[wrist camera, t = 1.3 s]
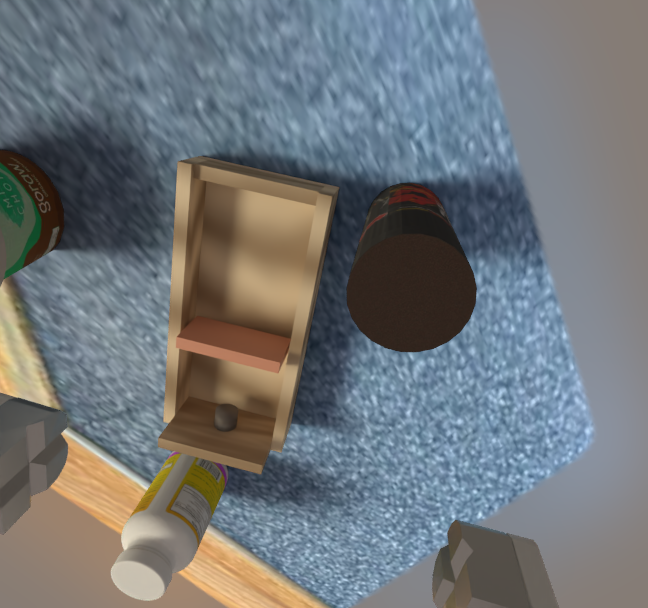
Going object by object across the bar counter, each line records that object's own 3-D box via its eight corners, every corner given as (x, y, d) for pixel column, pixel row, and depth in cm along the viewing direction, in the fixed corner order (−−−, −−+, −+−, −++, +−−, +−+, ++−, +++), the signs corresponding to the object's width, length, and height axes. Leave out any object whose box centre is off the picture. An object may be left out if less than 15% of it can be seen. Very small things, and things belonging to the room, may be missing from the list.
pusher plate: (197, 315, 39) (176, 336, 35) (291, 338, 38) (280, 362, 35) (196, 325, 39) (175, 347, 36) (289, 348, 39) (278, 373, 35)
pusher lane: (200, 155, 35) (156, 166, 29) (339, 187, 34) (325, 204, 28) (182, 396, 44) (146, 444, 38) (290, 424, 44) (272, 477, 37)
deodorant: (351, 230, 35) (321, 306, 22) (398, 166, 33) (398, 206, 19) (411, 273, 36) (419, 373, 22) (462, 213, 34) (505, 284, 20)
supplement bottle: (172, 485, 50) (103, 600, 38) (168, 436, 47) (91, 545, 35) (231, 494, 49) (179, 616, 37) (230, 446, 46) (173, 560, 34)
